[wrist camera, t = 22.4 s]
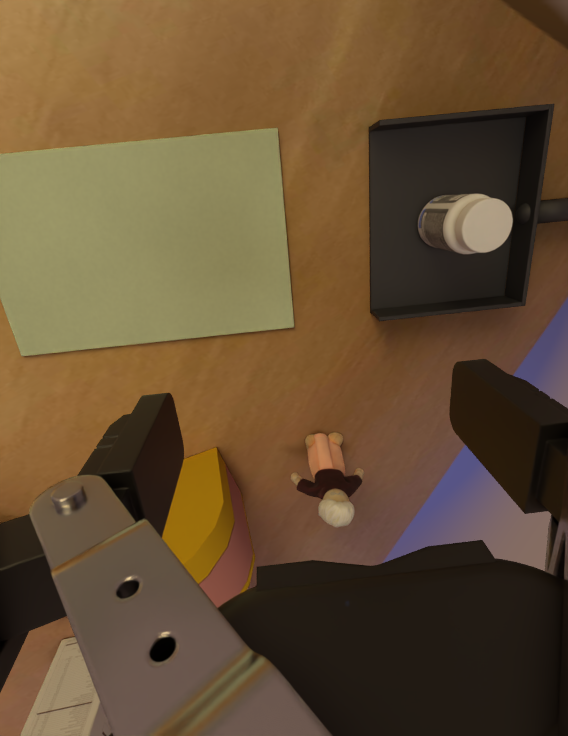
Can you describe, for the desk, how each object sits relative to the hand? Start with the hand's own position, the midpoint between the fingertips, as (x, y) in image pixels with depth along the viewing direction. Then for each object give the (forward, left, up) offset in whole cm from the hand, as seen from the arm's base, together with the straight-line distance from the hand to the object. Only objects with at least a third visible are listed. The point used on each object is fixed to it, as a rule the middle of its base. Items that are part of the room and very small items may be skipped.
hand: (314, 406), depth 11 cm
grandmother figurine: (+12, -18, -30) cm, 37 cm away
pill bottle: (+14, +9, -30) cm, 34 cm away
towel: (-12, -3, -30) cm, 33 cm away
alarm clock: (-1, -29, -30) cm, 42 cm away
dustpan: (+17, +10, -30) cm, 36 cm away
